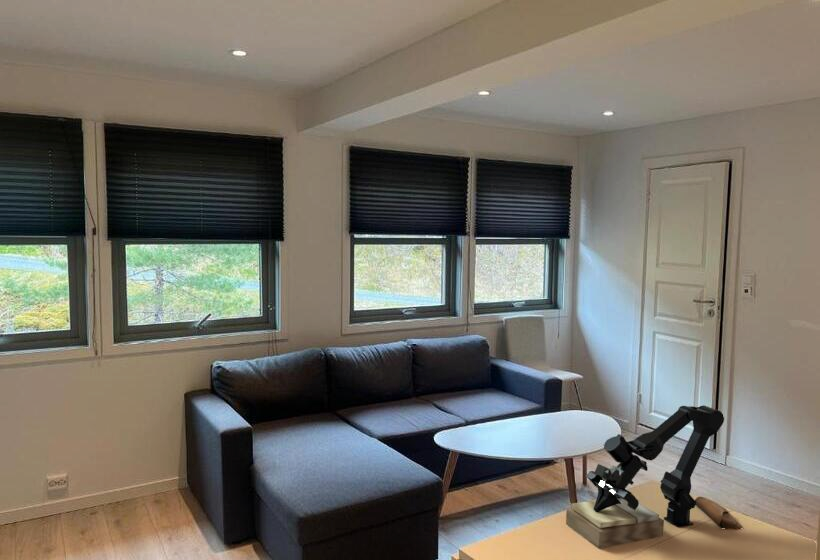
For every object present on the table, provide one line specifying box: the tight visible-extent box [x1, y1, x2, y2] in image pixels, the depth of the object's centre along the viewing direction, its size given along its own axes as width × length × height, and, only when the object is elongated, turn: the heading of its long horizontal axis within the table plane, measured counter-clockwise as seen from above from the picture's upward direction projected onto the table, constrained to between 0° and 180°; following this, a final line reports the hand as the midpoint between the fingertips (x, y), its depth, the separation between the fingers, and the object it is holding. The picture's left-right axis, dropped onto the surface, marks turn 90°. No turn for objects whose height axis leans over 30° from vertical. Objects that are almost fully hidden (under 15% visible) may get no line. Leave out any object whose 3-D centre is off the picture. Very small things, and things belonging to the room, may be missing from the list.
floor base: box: [565, 499, 665, 550], centre depth 185 cm, size 24×16×6 cm, turn 111°
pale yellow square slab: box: [570, 500, 636, 528], centre depth 183 cm, size 13×14×2 cm
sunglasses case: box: [694, 496, 744, 530], centre depth 196 cm, size 18×7×7 cm
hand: (594, 510), depth 182 cm, fingers closed, pressing on pale yellow square slab
